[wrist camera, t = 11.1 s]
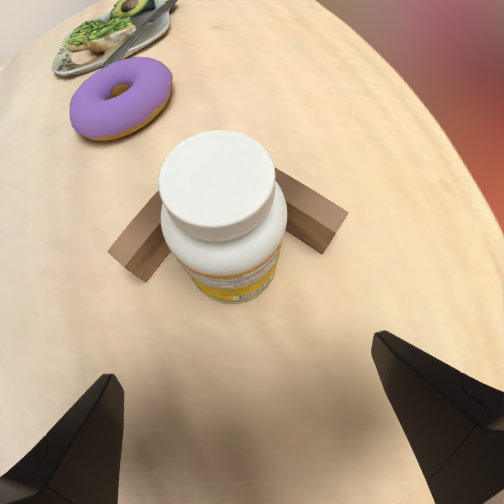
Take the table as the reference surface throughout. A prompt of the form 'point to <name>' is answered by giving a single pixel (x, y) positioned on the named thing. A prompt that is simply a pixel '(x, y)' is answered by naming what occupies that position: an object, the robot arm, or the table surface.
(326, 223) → the v block
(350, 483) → the table surface
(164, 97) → the donut
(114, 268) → the table surface
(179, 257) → the supplement bottle
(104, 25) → the salad plate
